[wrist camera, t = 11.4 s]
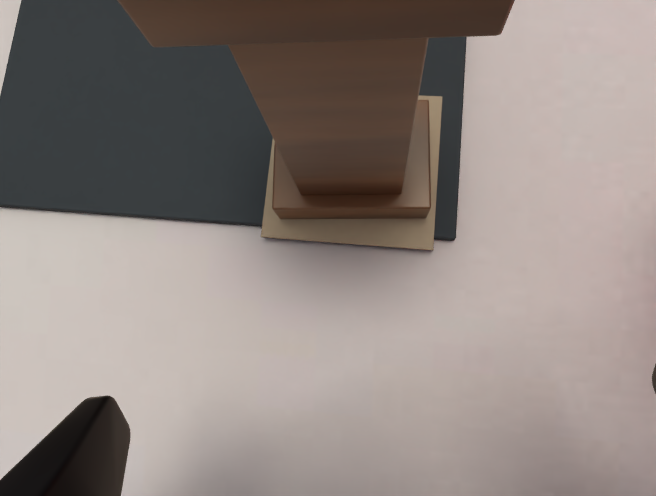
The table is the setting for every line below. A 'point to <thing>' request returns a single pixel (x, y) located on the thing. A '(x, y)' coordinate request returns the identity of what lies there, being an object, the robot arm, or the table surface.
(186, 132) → the word mat
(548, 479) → the table surface
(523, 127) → the table surface
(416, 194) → the letter I
